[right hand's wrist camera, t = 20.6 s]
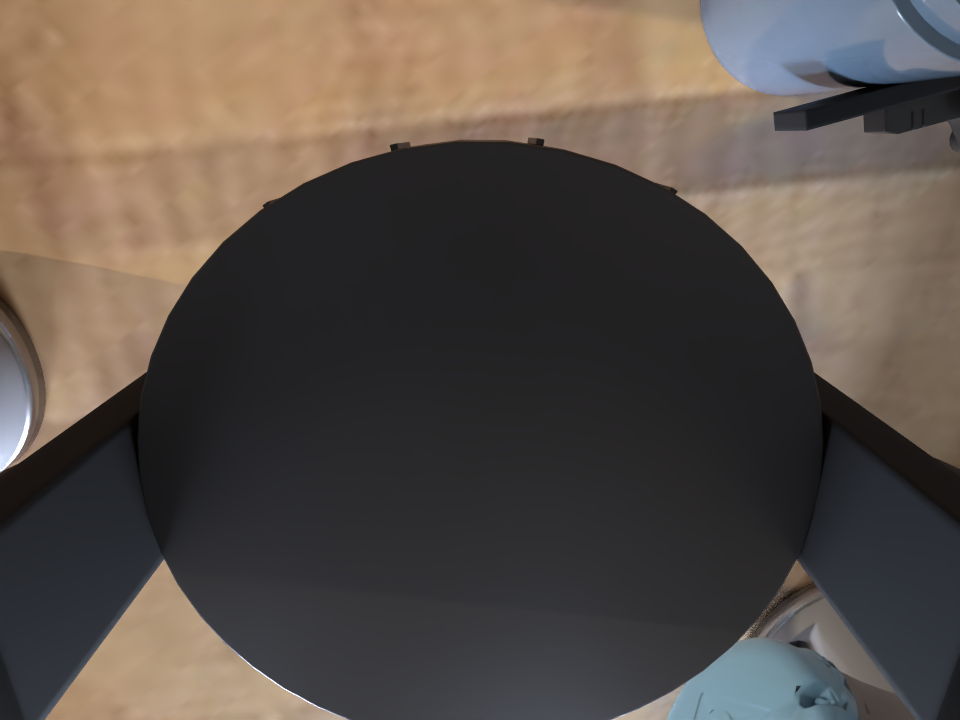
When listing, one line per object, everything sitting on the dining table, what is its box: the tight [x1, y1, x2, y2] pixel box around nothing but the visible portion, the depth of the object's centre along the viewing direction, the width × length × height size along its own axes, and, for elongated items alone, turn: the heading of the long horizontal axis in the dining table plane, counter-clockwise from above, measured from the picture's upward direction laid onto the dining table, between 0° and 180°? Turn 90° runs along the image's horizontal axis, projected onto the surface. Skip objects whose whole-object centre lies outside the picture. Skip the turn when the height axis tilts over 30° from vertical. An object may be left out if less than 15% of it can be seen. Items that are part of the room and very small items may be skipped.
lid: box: [137, 138, 824, 720], centre depth 11 cm, size 11×11×2 cm
